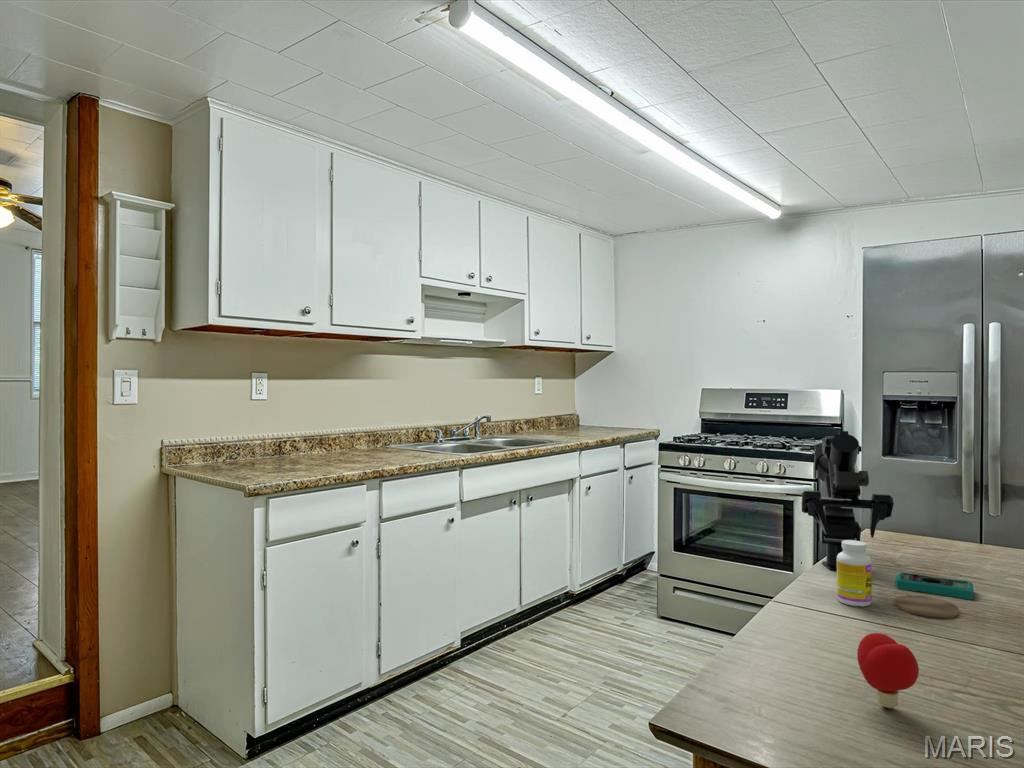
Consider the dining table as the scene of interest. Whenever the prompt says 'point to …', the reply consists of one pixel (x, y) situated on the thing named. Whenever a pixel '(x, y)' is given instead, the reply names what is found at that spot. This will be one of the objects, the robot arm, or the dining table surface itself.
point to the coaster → (926, 606)
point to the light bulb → (886, 667)
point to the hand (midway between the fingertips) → (849, 535)
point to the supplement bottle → (854, 574)
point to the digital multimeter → (935, 585)
